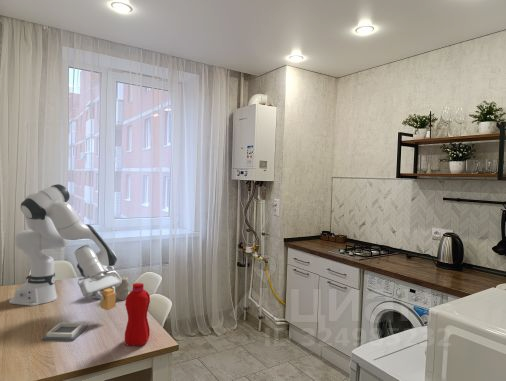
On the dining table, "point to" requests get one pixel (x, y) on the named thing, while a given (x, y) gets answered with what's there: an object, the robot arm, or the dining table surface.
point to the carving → (122, 289)
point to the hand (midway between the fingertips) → (109, 297)
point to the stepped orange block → (108, 299)
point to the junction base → (65, 332)
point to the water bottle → (137, 316)
